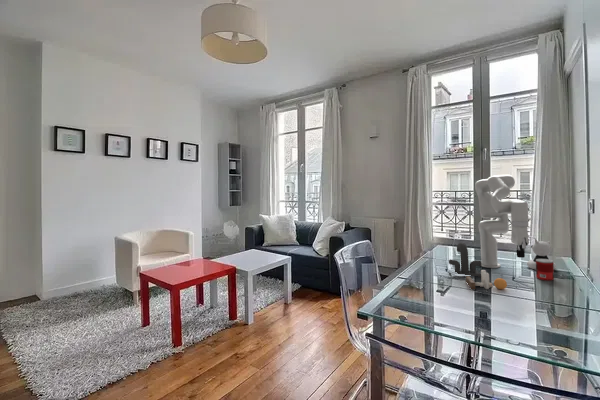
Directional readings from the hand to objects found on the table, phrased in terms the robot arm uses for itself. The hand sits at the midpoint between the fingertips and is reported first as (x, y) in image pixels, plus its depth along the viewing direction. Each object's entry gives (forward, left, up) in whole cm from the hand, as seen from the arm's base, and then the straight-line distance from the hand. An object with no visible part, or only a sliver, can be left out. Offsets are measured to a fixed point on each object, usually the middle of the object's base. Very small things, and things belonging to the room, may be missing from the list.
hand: (520, 257), depth 160 cm
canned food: (-17, +18, -17) cm, 30 cm away
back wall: (0, -25, -17) cm, 30 cm away
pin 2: (+3, -17, -17) cm, 25 cm away
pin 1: (-3, -17, -17) cm, 25 cm away
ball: (+3, -11, -14) cm, 18 cm away
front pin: (0, -14, -16) cm, 21 cm away
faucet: (-25, -23, -17) cm, 38 cm away
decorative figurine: (-38, +25, -17) cm, 49 cm away
